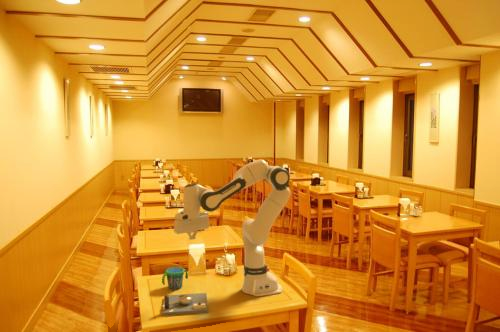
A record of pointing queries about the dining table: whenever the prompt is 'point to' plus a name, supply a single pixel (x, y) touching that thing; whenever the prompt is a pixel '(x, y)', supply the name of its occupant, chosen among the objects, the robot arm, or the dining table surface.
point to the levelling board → (196, 307)
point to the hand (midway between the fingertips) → (192, 239)
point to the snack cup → (174, 277)
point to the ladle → (182, 299)
